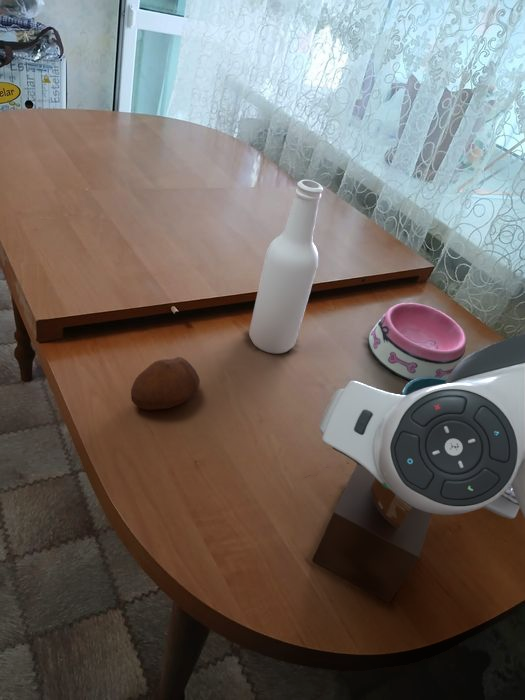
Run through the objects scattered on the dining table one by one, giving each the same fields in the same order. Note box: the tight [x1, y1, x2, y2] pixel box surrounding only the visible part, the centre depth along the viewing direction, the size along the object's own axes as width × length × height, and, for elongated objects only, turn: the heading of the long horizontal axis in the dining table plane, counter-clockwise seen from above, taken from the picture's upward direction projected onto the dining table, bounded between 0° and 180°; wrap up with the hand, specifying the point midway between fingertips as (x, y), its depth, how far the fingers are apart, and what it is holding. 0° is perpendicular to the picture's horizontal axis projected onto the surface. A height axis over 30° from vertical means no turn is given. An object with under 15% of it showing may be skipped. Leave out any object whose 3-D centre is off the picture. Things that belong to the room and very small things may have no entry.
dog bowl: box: [367, 302, 467, 382], centre depth 103 cm, size 18×19×7 cm
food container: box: [371, 477, 412, 529], centre depth 61 cm, size 12×6×10 cm, turn 147°
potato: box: [130, 356, 201, 411], centre depth 80 cm, size 8×12×8 cm, turn 138°
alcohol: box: [248, 179, 324, 354], centre depth 91 cm, size 9×9×30 cm
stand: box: [312, 463, 433, 604], centre depth 67 cm, size 10×13×10 cm
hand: (411, 455), depth 61 cm, fingers closed on food container, 5 cm apart
